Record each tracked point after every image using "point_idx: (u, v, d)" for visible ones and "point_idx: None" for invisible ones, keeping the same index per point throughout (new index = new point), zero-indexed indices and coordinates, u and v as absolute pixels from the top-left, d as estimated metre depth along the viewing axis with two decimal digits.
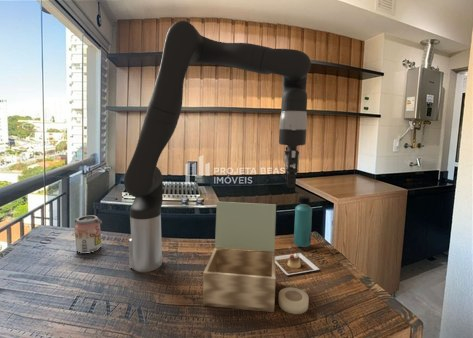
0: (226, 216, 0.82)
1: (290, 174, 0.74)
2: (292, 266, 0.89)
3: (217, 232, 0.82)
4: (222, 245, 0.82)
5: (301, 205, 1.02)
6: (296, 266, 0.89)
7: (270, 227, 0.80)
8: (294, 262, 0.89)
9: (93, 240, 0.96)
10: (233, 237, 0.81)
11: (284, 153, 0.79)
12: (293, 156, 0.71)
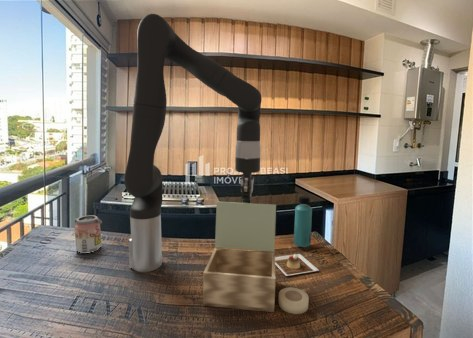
0: (226, 216, 0.82)
1: (245, 200, 0.83)
2: (291, 267, 0.89)
3: (217, 232, 0.82)
4: (222, 245, 0.82)
5: (301, 205, 1.02)
6: (295, 267, 0.89)
7: (270, 227, 0.80)
8: (293, 263, 0.89)
9: (93, 240, 0.96)
10: (233, 237, 0.81)
11: (241, 178, 0.84)
12: (245, 191, 0.78)
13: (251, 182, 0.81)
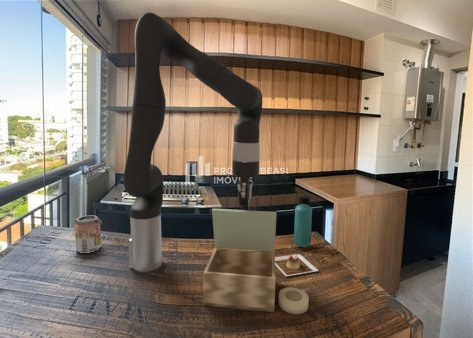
0: (223, 222, 0.77)
1: (242, 207, 0.76)
2: (291, 267, 0.89)
3: (216, 236, 0.80)
4: (222, 246, 0.81)
5: (301, 205, 1.02)
6: (295, 267, 0.88)
7: (270, 232, 0.77)
8: (293, 263, 0.89)
9: (93, 240, 0.96)
10: (232, 240, 0.80)
11: None
12: (243, 197, 0.72)
13: (249, 187, 0.75)
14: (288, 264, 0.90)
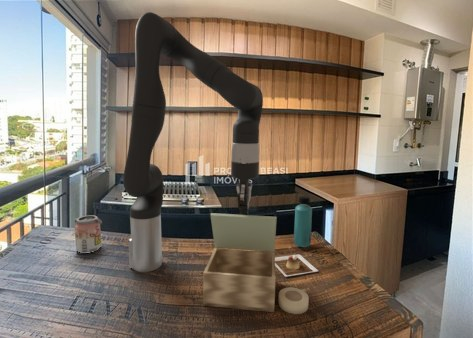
0: (222, 226, 0.76)
1: (241, 209, 0.74)
2: (291, 267, 0.88)
3: (215, 237, 0.79)
4: (222, 246, 0.81)
5: (301, 205, 1.02)
6: (295, 267, 0.88)
7: (270, 235, 0.76)
8: (293, 263, 0.88)
9: (93, 240, 0.96)
10: (232, 241, 0.79)
11: (237, 184, 0.75)
12: (241, 200, 0.69)
13: (249, 189, 0.72)
14: (288, 264, 0.89)
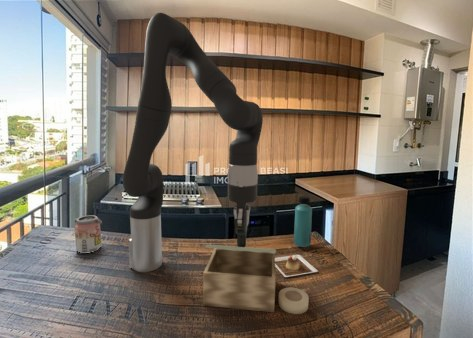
0: None
1: (239, 234, 0.70)
2: (290, 268, 0.88)
3: None
4: None
5: (301, 205, 1.02)
6: (294, 268, 0.88)
7: None
8: (292, 264, 0.88)
9: (93, 240, 0.96)
10: None
11: (235, 207, 0.71)
12: (239, 225, 0.65)
13: (246, 213, 0.68)
14: (287, 265, 0.89)
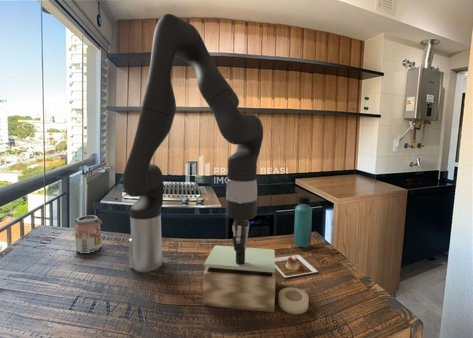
0: None
1: (238, 251, 0.67)
2: (290, 268, 0.88)
3: None
4: None
5: (301, 205, 1.02)
6: (294, 268, 0.88)
7: None
8: (292, 264, 0.88)
9: (93, 240, 0.96)
10: None
11: None
12: (238, 243, 0.63)
13: (246, 230, 0.66)
14: (287, 265, 0.89)
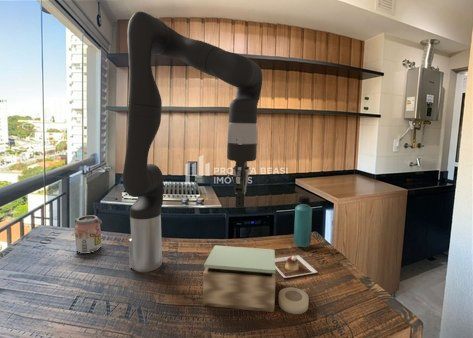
0: None
1: (238, 194, 0.70)
2: (290, 269, 0.88)
3: None
4: None
5: (301, 205, 1.02)
6: (294, 269, 0.87)
7: None
8: (292, 265, 0.88)
9: (93, 240, 0.96)
10: None
11: (234, 168, 0.71)
12: (237, 183, 0.65)
13: (245, 173, 0.68)
14: (287, 265, 0.89)
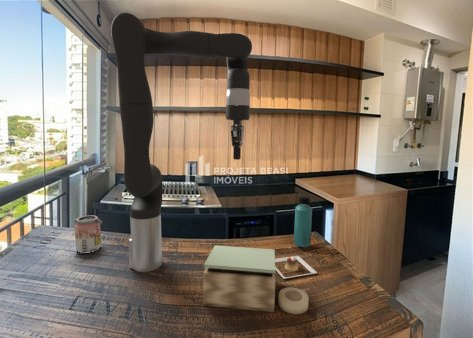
0: None
1: (235, 148, 0.86)
2: (289, 269, 0.87)
3: None
4: None
5: (301, 205, 1.02)
6: (293, 269, 0.87)
7: None
8: (291, 265, 0.87)
9: (93, 240, 0.96)
10: None
11: None
12: (234, 136, 0.82)
13: (241, 129, 0.85)
14: (286, 266, 0.88)
